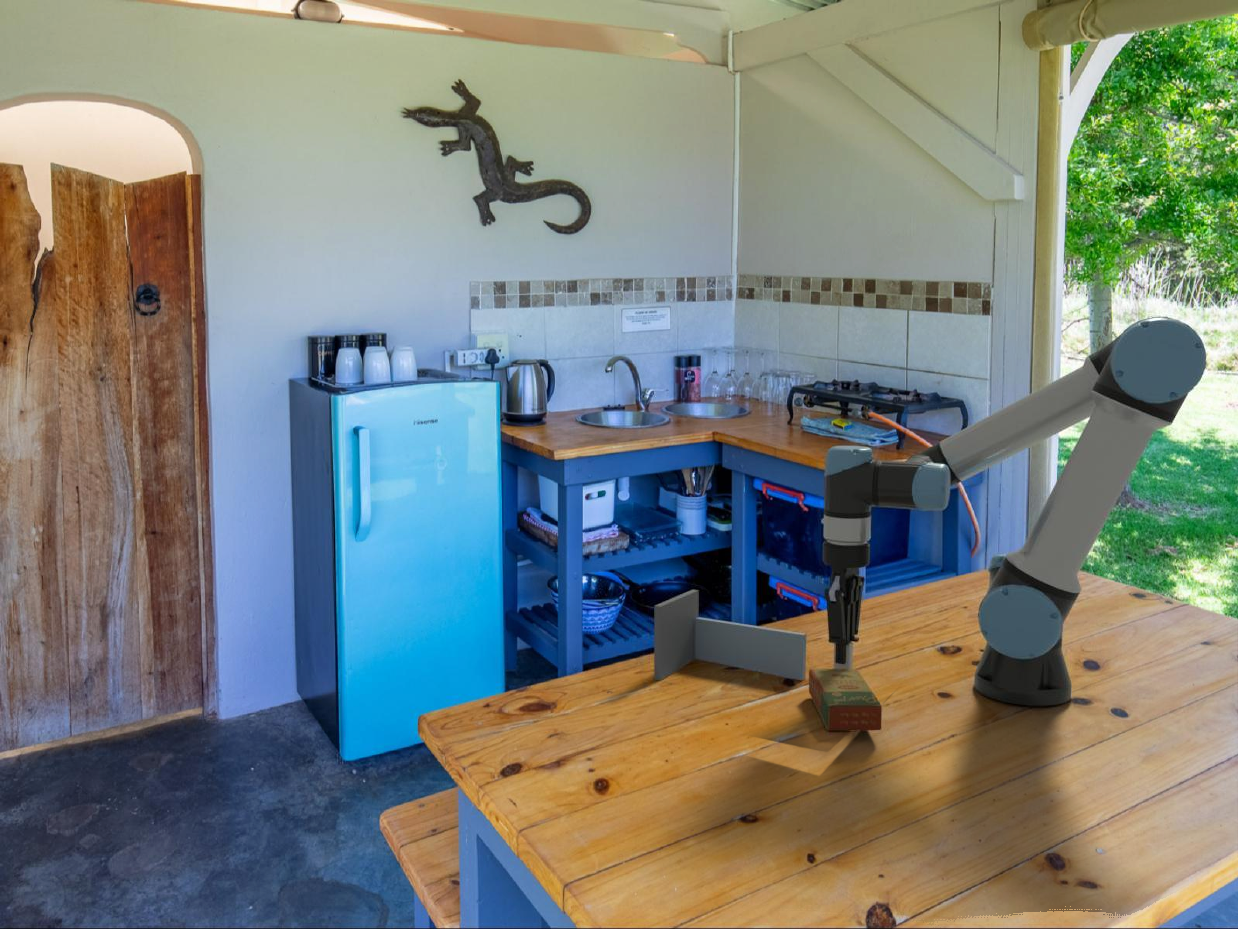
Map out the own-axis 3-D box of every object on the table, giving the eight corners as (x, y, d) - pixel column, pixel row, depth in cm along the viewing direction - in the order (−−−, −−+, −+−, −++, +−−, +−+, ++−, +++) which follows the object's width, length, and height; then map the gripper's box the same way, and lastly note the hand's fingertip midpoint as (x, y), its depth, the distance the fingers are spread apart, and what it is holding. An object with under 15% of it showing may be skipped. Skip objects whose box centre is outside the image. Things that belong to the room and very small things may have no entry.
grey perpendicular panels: (805, 678, 182) (806, 605, 181) (772, 702, 170) (773, 623, 169) (692, 658, 194) (693, 589, 192) (654, 679, 182) (654, 605, 180)
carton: (858, 692, 173) (859, 667, 172) (882, 731, 157) (883, 704, 156) (807, 692, 173) (808, 667, 172) (826, 731, 157) (827, 704, 156)
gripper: (838, 532, 179) (834, 666, 182) (809, 545, 168) (806, 687, 171) (881, 536, 176) (877, 674, 178) (855, 550, 165) (851, 696, 167)
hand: (842, 680), depth 175 cm, fingers closed
